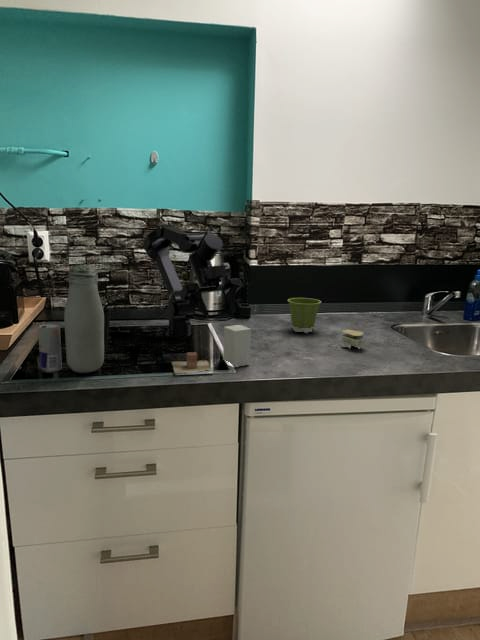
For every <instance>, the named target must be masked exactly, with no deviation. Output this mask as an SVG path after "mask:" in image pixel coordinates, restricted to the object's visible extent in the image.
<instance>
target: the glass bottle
mask: <svg viewBox="0 0 480 640" xmlns="http://www.w3.org/2000/svg"><path fill="white" fill-rule="evenodd" d="M67 280H68V283H69V284H68V285H69V289H68V293H67V294H68V295H67V298H66V303H65V306H64V311H63V313H64V314H63V319H64V321H63V322H64V338H65V340H64V341H65V351H66V352H65V354H66V364H67V365H68V367H69V368H70V369H71V370H72V371H73V372H74V373H79V374H89V373H93V372H96V371H98V370H99V369H101V367H102V366H103V364H104V362H105V361H104V360H105V352H104V311H103V309H104V308H103V305H102V301H101V297H100V294H99V288H98V283H99V276H98V270H97V269H96V268H95V267H92V265H77V266H75V267H72V268H71V269H69V270H68V278H67Z"/></svg>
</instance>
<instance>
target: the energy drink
mask: <svg viewBox="0 0 480 640" xmlns="http://www.w3.org/2000/svg"><path fill="white" fill-rule="evenodd" d="M37 333H38V346H39V348H38V349H39V363H40V365H39V366H40V370H41V372H42V373H50V374H51V373H56V372H57V373H58V372H60V371H61V370H62V369H63V363H62V362H63V360H62V359H63V358H62V342H61V339H62V338H61V327H60V325H59V324H58V323H43V324H40V325H38V331H37Z"/></svg>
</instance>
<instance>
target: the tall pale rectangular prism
mask: <svg viewBox="0 0 480 640" xmlns="http://www.w3.org/2000/svg"><path fill="white" fill-rule="evenodd" d="M251 330H252V329H251V328H249V327H247V326H245V325H242V324H235V325H227V326H224V327H223V353H222V355H223V356H222V361H223V360H226V361H228V362H230V363H231V364H233V365H238V364H243V363H249V362H251V338H252V337H251V335H252V331H251Z"/></svg>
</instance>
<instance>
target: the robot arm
mask: <svg viewBox="0 0 480 640" xmlns="http://www.w3.org/2000/svg"><path fill="white" fill-rule="evenodd" d="M173 243H174V244H176V245H178V249H179V250H180V251H181V252H182V253H185V254H186V253H188V254H190V253H191V254H190V255H189V256H188V259H187V262H186V265H187V266H191V267H192V268H191V269H192V270H193V273H194V275H195V276H194V277H193V278H194V281H196V282H189V283H188V282H187V283H184V285H183V286H182V283H181V280H180V279H179V276H178V274H177V272H176V269H175V267H174V265H173V262H172V260H171V258H170V255H169V254H170V251H171V250H170V249H171V245H172V244H173ZM223 243H224V242H223V240H222V239H221V237H219V236H217V234H215V233H213V231H212V230H207V231H205V232H204V234H203V233H197V232H195V233H194V232H186V231H184V230H182V229H179V228H177V227H174V225H171V224H160V225H157V226H156V228H155V229H153V231H151V232H149V233H147V235H146V237H144V239H143V242H142V244H143V245H142V247H143V249H144V251H145V253H146V255H147V256H148V257H149V258H150V259H151V260H153V261H154V262H155V263H156V266H157V268H158V271H159V273H160V275H161V278H162V280H163V283H164V285H165V288H166V290H167V292H168V295H169V296H168V299H167V300H168V301H167V305H168V306H167V307H166V308H165V311H164V313H163V314H164V319H165V320H168V334H167V335H166V338H169V337H173V338H172V339H176V338H182V339H181V340H184V339H183V338H184V337H188V336H190V335H191V334H192V323H191V319H193V320H194V319H195V314H196V311H200V313H201V314H202V315H204V316H205V317H208V316H209V311H208V309H207V307H206V304H205V302H204V299H203V294H208V293H215V292H222V293H223V295H224V296H223V298H224V300H225V302H226V303H227V305H228V307H229V309H230V310H231V312H232V313H236V310H237V309H236V308H237V307H236V306H237V305H236V294H237V292H238V291H239V290H240V289H241V288H242V286H243V282H242V280H241V279H240V278H237V277H235V278H228V279H227V280H226V281H225V282H224V283H221V282H222V281H223V278H224V277H228V275H230V274H231V273H232V269H231V266H230V264H229V262H223V263H221V264H220V265H212V262H211V261H212V260H213V259H214V258H215V257H216V256H217V254H218V253H219V252H220V250H221V249H222V248H223V246H224V244H223ZM190 337H191V336H190ZM188 338H189V337H188Z"/></svg>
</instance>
